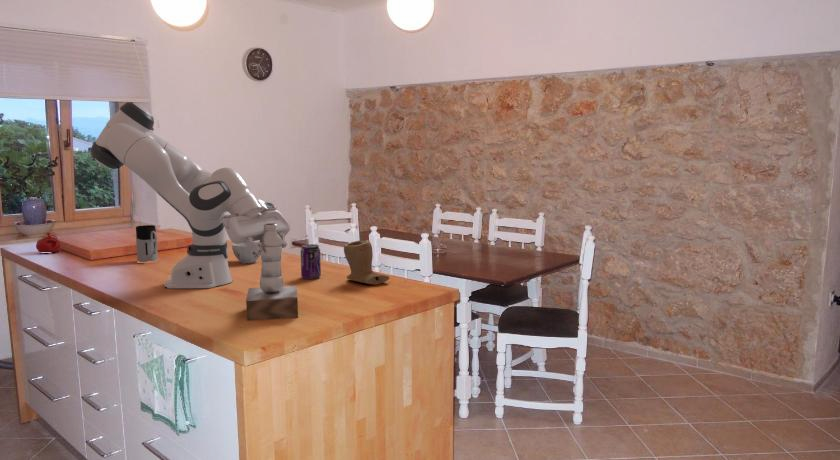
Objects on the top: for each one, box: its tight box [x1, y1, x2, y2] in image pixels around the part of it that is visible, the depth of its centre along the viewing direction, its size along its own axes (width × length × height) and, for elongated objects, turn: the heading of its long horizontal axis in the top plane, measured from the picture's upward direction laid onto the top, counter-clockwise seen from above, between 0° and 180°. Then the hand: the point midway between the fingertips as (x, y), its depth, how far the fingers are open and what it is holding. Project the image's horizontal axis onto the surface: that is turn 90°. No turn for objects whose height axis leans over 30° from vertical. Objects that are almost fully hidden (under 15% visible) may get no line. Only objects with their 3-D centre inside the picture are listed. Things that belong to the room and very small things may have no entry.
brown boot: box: [343, 239, 390, 286], centre depth 217 cm, size 15×12×15 cm
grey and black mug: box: [135, 224, 159, 262], centre depth 254 cm, size 9×14×15 cm, turn 46°
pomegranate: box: [35, 232, 61, 253], centre depth 279 cm, size 10×10×9 cm
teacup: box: [231, 241, 261, 264], centre depth 255 cm, size 15×12×8 cm
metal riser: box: [245, 285, 299, 321], centre depth 179 cm, size 14×14×6 cm
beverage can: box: [300, 243, 322, 280], centre depth 225 cm, size 7×7×12 cm
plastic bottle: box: [258, 223, 284, 293], centre depth 177 cm, size 6×7×20 cm
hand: (272, 248), depth 176 cm, fingers open, 8 cm apart
